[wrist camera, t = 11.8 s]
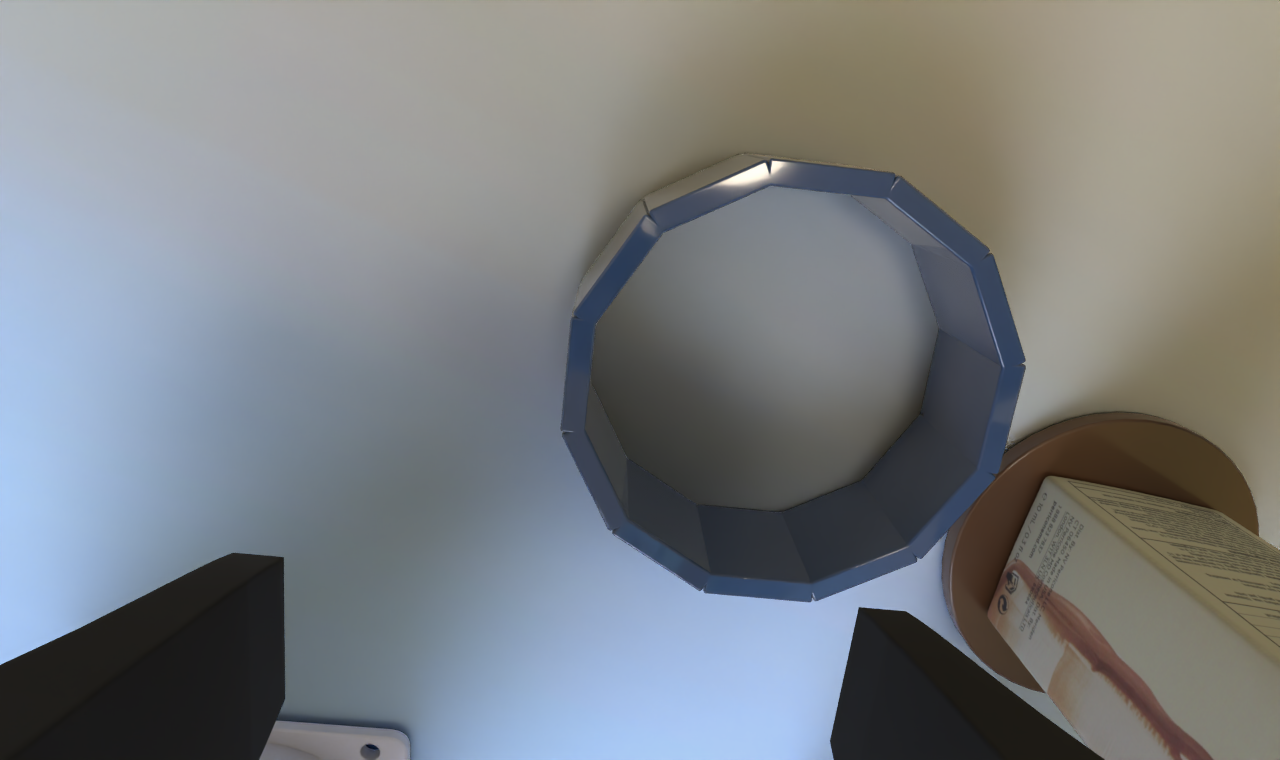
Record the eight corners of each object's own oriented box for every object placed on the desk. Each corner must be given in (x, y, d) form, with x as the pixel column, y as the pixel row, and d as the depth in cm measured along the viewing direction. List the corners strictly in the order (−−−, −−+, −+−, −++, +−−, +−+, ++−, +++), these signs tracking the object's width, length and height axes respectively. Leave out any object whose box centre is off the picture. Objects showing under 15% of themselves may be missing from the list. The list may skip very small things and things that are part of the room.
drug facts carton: (978, 618, 22) (1264, 1007, 12) (1041, 466, 21) (1414, 765, 11) (1158, 657, 22) (1571, 1061, 13) (1231, 512, 21) (1750, 836, 11)
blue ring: (557, 508, 21) (546, 580, 18) (592, 134, 19) (586, 136, 15) (910, 541, 22) (962, 616, 18) (992, 181, 19) (1071, 193, 16)
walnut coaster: (912, 671, 23) (920, 685, 22) (979, 395, 21) (989, 404, 20) (1190, 694, 23) (1205, 709, 23) (1286, 427, 21) (1305, 436, 21)
